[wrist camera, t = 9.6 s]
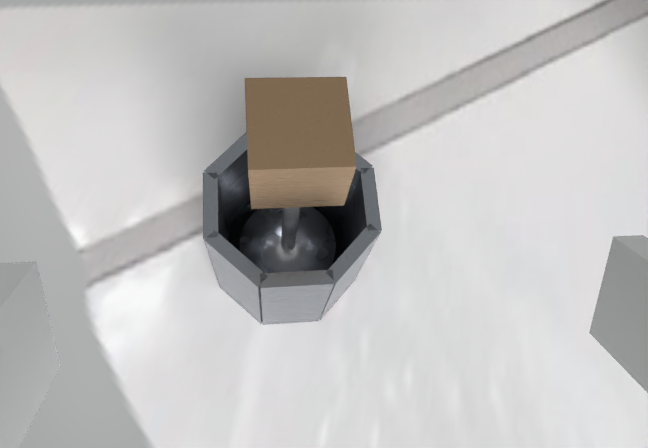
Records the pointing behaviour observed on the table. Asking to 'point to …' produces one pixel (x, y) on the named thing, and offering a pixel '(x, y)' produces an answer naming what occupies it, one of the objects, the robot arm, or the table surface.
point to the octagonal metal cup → (284, 287)
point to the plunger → (296, 169)
